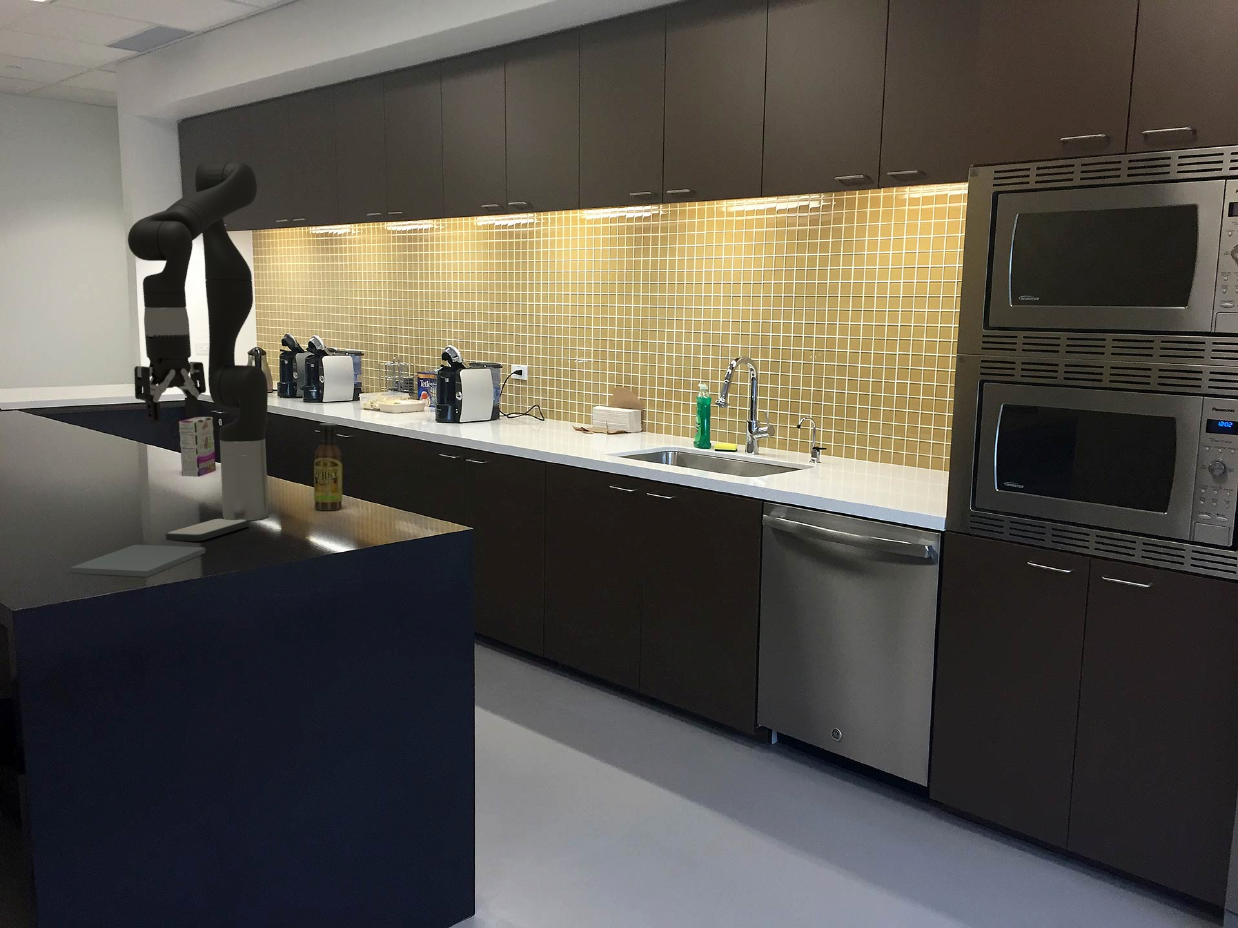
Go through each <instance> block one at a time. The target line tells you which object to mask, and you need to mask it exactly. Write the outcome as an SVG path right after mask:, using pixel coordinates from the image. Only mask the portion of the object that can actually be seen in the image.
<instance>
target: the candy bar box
mask: <svg viewBox="0 0 1238 928" xmlns="http://www.w3.org/2000/svg"><path fill="white" fill-rule="evenodd" d="M178 430H179V445H180V458H181V474H182V477H193V478H196V477H197V478H198V477H203V476H205V475H209V474H211V473H213V472H215V471H216V470H217V466H216V450H215V434H214V433H215V432H214V418H213V417H212V416H197V417H190V418H187V419H183V420H179V421H178Z"/></svg>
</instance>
